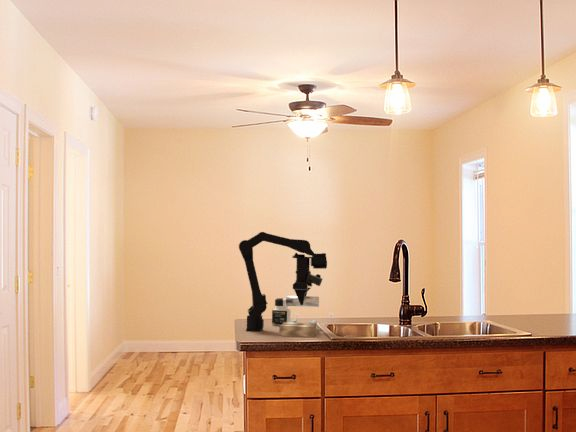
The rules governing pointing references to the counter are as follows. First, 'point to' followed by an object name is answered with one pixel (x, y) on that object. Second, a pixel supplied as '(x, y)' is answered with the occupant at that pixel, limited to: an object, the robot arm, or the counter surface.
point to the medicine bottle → (280, 312)
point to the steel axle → (308, 301)
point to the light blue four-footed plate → (309, 322)
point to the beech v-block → (297, 329)
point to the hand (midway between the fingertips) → (302, 304)
